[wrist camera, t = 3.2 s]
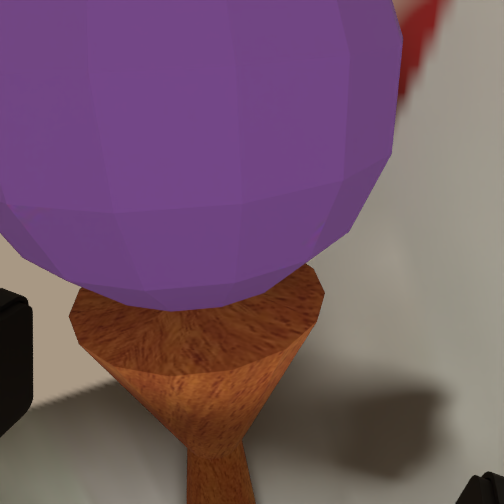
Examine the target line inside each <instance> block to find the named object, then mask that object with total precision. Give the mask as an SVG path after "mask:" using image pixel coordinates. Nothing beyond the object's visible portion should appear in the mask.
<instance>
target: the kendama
mask: <svg viewBox="0 0 504 504" xmlns="http://www.w3.org/2000/svg"><path fill="white" fill-rule="evenodd" d="M402 44H403V36H402V33H401V30H400V26H399V23H398V19H397V16H396V12H395V9H394V6H393V2H392V0H0V233H1V234H2V235H3V237H4V238H5V239H6V240H7V241H8V242H9V243H10V244H11V245H12V246H13V248H14V249H15V250H16V251H17V252H18V253H19V254H20V255H21V256H22V257H23V258H24V259H26V260H28V261H30V262H32V263H34V264H36V265H38V266H39V267H41V268H43V269H45V270H47V271H49V272H51V273H53V274H55V275H57V276H58V277H60V278H62V279H64V280H66V281H69V282H71V283H73V284H76V285H78V286H81V287H82V288H81V289H80V290H79V292H78V295H77V297H76V300H75V302H74V304H73V307H72V310H71V312H70V314H69V318H70V321H71V323H72V326H73V329H74V332H75V335H76V337H77V340H78V343H79V344H80V345H81V346H82V347H83V348H84V349H85V350H86V351H87V352H88V353H89V354H90V355H91V356H92V357H93V358H94V359H95V360H96V361H97V362H98V363H99V364H100V365H101V366H102V367H104V368H105V369H106V370H107V371H108V372H109V373H110V374H111V375H112V376H113V377H114V378H115V379H116V380H117V381H118V382H119V383H120V384H121V385H122V386H123V387H124V388H125V389H126V390H127V391H129V392H130V393H131V394H132V395H133V396H134V397H135V398H136V399H137V400H138V401H139V402H140V403H141V404H142V405H143V406H144V407H145V408H146V409H147V410H148V411H149V412H150V413H151V414H153V415H154V416H155V417H156V418H157V419H158V420H159V421H160V422H161V423H162V424H163V425H164V426H165V427H166V428H167V429H168V430H169V431H170V432H171V433H172V434H173V435H174V436H175V437H177V438H178V439H179V440H180V441H181V442H182V443H183V444H184V445H185V446H186V447H187V448H188V449H187V504H256V502H255V498H254V493H253V489H252V484H251V480H250V475H249V471H248V466H247V462H246V457H245V452H244V448H243V443H242V439H243V437H244V435H245V434H246V432H247V431H248V429H249V428H250V426H251V424H252V423H253V421H254V420H255V418H256V417H257V415H258V413H259V412H260V410H261V409H262V407H263V406H264V404H265V402H266V401H267V399H268V398H269V396H270V394H271V393H272V391H273V390H274V388H275V387H276V385H277V383H278V382H279V380H280V379H281V377H282V376H283V374H284V372H285V371H286V369H287V368H288V366H289V365H290V363H291V361H292V360H293V358H294V357H295V355H296V353H297V352H298V350H299V349H300V347H301V346H302V344H303V342H304V341H305V339H306V338H307V336H308V335H309V333H310V331H311V330H312V328H313V327H314V325H315V324H316V322H317V319H318V316H319V312H320V309H321V305H322V302H323V298H324V294H325V292H324V290H323V288H322V286H321V284H320V281H319V279H318V277H317V275H316V273H315V271H314V269H313V268H311V267H310V266H309V265H307V264H306V262H308V261H309V260H310V259H312V258H313V257H315V256H316V255H317V254H319V253H320V252H322V251H323V250H324V249H326V248H327V247H328V246H330V245H331V244H333V243H334V242H335V241H337V240H338V239H339V238H341V237H342V236H344V235H345V234H346V233H348V232H349V231H350V229H351V227H352V225H353V223H354V222H355V220H356V218H357V216H358V214H359V212H360V211H361V209H362V207H363V205H364V203H365V201H366V200H367V198H368V196H369V194H370V192H371V190H372V189H373V187H374V185H375V183H376V181H377V180H378V178H379V176H380V174H381V172H382V170H383V169H384V167H385V165H386V163H387V161H388V159H389V158H390V156H391V154H392V145H393V135H394V125H395V115H396V105H397V94H398V84H399V74H400V64H401V54H402V53H401V52H402Z"/></svg>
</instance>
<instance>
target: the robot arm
mask: <svg viewBox="0 0 504 504" xmlns="http://www.w3.org/2000/svg"><path fill="white" fill-rule="evenodd" d="M32 400H33V311H32V308H31V307H30V306H29V305H28V300H27V298H26V297H24V296H21V295H19V294H16V293H14V292H11V291H8V290H5V289H3V288H0V437H1V436H2V435H3V434H4V433H5V432H6V431H8V430H9V429H10V428H11V427H12V426H13V425H14V424H15V423H16V422H17V421H18V420H19V419H20V418H21V417H22V416H23V415H24V414H25V413H26V412H27V410H28V409H29V407H30V405H31V403H32ZM455 504H504V477H503V476H500V475H498V474H495V473H492V472H489V471H488V472H486V473H484V475H483V476H482V477H479V476H477V475H474V476H472V477H471V479H470V480H469V482H468V484H467V485H466V487H465V488H464V490H463V492H462V493H461V495H460V497H459V498H458V500H457V502H456V503H455Z"/></svg>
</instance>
